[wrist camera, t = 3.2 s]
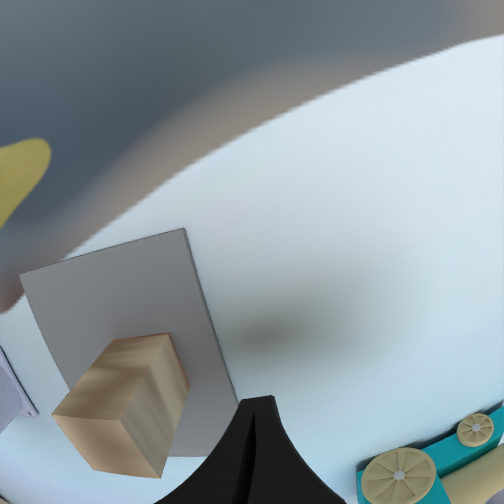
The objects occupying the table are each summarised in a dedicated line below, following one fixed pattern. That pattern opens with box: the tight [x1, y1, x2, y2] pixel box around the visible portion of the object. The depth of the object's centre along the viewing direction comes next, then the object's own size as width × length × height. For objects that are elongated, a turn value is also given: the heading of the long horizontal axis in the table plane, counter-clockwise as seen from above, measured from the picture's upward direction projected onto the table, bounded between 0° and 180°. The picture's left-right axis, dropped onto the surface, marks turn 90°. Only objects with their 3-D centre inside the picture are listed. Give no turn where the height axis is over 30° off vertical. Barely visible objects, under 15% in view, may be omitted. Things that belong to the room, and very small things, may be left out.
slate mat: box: [19, 228, 239, 457], centre depth 18 cm, size 13×17×1 cm
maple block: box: [52, 332, 190, 479], centre depth 13 cm, size 4×4×8 cm
